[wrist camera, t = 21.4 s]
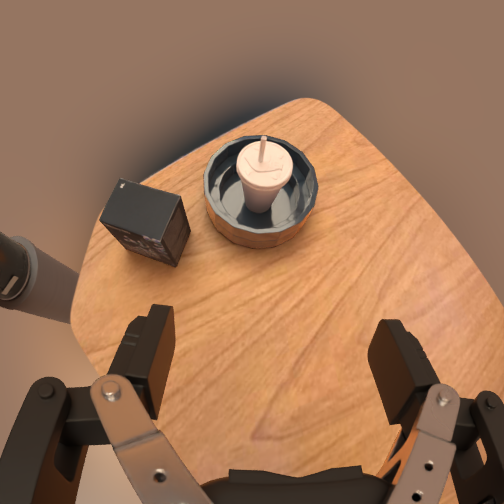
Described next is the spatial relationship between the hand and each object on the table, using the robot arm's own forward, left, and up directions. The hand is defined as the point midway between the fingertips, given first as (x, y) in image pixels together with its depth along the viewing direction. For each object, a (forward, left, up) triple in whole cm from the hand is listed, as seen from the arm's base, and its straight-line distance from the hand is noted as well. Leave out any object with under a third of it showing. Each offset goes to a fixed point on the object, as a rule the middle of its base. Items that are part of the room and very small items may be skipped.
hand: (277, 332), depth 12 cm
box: (-10, +15, -28) cm, 34 cm away
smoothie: (+4, +19, -28) cm, 34 cm away
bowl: (+4, +19, -28) cm, 34 cm away
